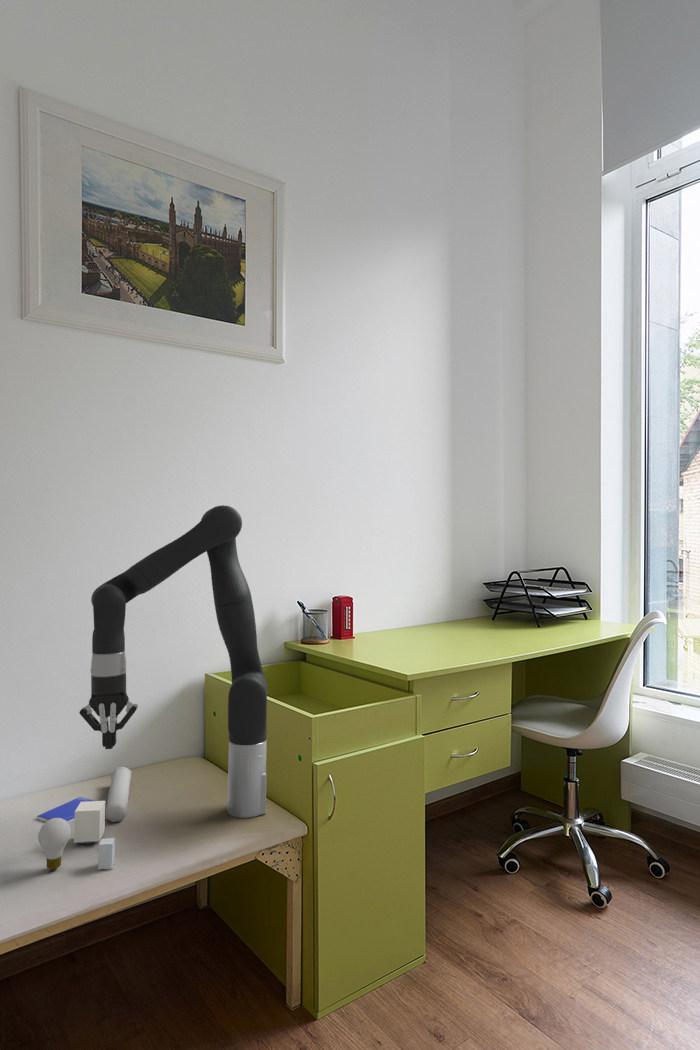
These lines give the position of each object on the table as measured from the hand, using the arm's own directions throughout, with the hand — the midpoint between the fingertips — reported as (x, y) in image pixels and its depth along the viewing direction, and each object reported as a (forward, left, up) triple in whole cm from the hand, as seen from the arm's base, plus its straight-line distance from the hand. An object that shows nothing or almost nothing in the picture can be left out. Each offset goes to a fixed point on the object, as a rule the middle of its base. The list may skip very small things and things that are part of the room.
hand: (109, 748), depth 148 cm
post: (+3, +5, -18) cm, 19 cm away
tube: (0, -15, -19) cm, 24 cm away
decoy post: (-3, +17, -18) cm, 26 cm away
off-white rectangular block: (+3, +5, -17) cm, 18 cm away
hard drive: (+11, -11, -19) cm, 25 cm away
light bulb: (+7, +17, -19) cm, 26 cm away
